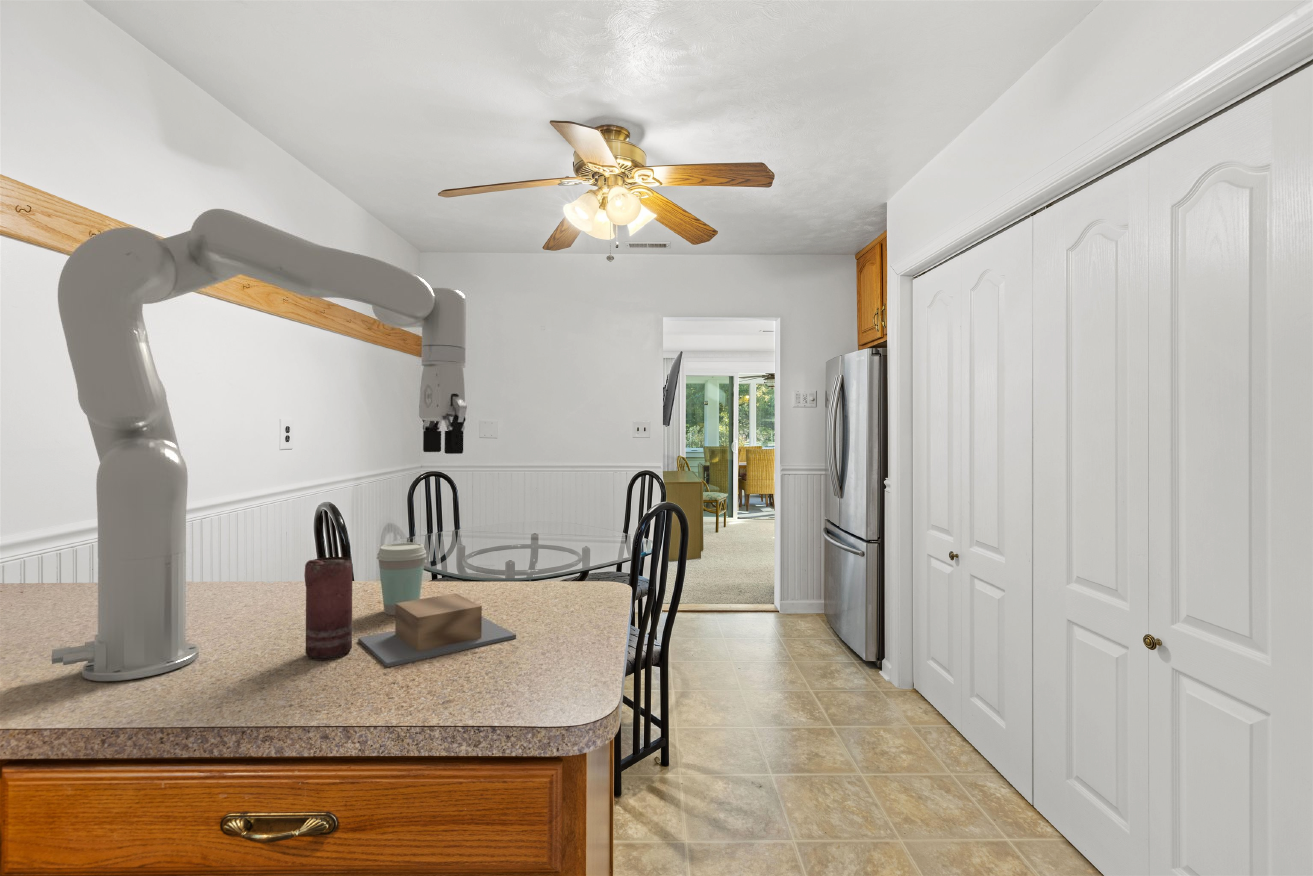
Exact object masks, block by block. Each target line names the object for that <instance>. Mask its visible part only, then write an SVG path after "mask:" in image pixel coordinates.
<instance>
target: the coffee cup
mask: <svg viewBox="0 0 1313 876" xmlns="http://www.w3.org/2000/svg"><path fill="white" fill-rule="evenodd" d="M376 555H377V557H376V559H377V560H378V566H379V567H378V568H379V577H380V585H381V595H382V602H383V609H384V614H386V615H387V616H395V603H400V602H406V601H412V600H419V599H421V593H422V592H421V591H422V583H423V577H424V567H425V558H426V557H427V550H426V549H425V547H424V543H423V544H422V543H420V542H395V543H389V544H384V545H381V546H380V547H379V549H378V552H377V554H376Z"/></svg>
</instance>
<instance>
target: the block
mask: <svg viewBox="0 0 1313 876" xmlns="http://www.w3.org/2000/svg"><path fill="white" fill-rule="evenodd" d="M482 606H483V605H481V604H479V603H476V602H474V601H472V600H470V599H469V598H466V597H464V596H462V595H460V594H458V593H450V594H444V595H438V596H432V597H425V598H420V599H419V600H412V601H406V602H400V603H395V615H394V616H395V617H394V618H395V619H394V621H395V624H394V625H395V626H394V631H395V635H397V636H398V637H399V638H401V639H402V640H403V641H405V642H406V643H407V644H409V645H410V646H411V647H413V648H414V649H415V650H417V651H422V650H426V649H431V648H436V647H440V646H445V645H449V644H454V643H459V642H463V641H468V640H473V639H477V638H481V636H482V617H483V616H482V614H483V613H482V612H483V611H482V609H483V608H482Z"/></svg>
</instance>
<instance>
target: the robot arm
mask: <svg viewBox="0 0 1313 876" xmlns="http://www.w3.org/2000/svg"><path fill="white" fill-rule="evenodd" d="M239 275H241V276H245V277H248V278H250V279H255V280H256V281H259V282H263V283H265V284H268V285H272V286H274V287H277V288H280V289H282V290H285V291H287V292H290V293H293V294H296V295H300V296H303V297H307V298H308V297H309V298H315V299H318V298H319V299H324V298H325V299H326V298H327V299H328V298H329V299H330V298H331V299H332V298H333V299H334V298H337V299H344V300H345V299H346V300H351V301H355V302H360V303H363V304H366V305H370V306H371V308H372V311H373V314H374V316H375V317H376V319H377V320H378V321H379V322H381V324H384V325H386V326H388V327H391V328H398V329H401V328H403V329H404V328H407V329H409V328H421V366H422V373H421V378H420V379H421V380H420V388H419V390H420V391H419V402H418V403H419V404H418V406H419V408H418V417H419V418H420V419H421V420H422V421H421V422H423V424H422V435H423V436H422V447H423V448H422V451H423V452H424V453H441V451H442V430H440V428H441V425H442V422H443V421H444V424H445V427H446V430H444V451H443V452H444V453H445V454H447V455H449V454H450V455H453V454H455V455H456V454H458V455H460V454H463V453H464V431H465V427H466V426H465V422H466V413H467V410H468V408H467V407H468V406H467V404H466V402H465V401H466V396H465V395H466V393H465V391H466V390H465V376H464V369H465V368H466V343H467V342H466V336H467V335H466V331H467V329H466V327H467V323H466V322H467V301H466V296H465V294H464V293H463V292H462V291H459V290H457V289H454V288H448V287H431V286H430V285H429V284H428V283H427V282H426V280H424V279H423V278H421V276H418V275H417V274H414V273H412V272H410V271H408V270H405V269H403V268H401V267H398V266H395V265H394V264H390V263H388V262H386V261H384V260H380V259H377V258H374V257H370V256H367V255H363V254H359V253H356V252H355V253H354V252H350V251H345V250H342V249H338V248H333V247H328V246H324V245H321V244H317V243H314V242H311V241H310V240H307V239H304V238H303V237H299V236H297V235H294V234H292V233H290V232H287V231H284V230H282V229H279V228H277V227H274V226H271V225H268V224H266V223H264V222H261V221H259V220H256V219H253V218H251V217H249V216H247V215H243V214H242V213H238V212H235V211H233V210H229V209H224V208H212V209H208V210H206V211H204V212H202V213H201V214H199V215H198V216H197V218H195V220H194V221H193V222H192V226H191V228H190V230H186V231H185V232H181V233H178V234H175V235H171V236H168V237H163V238H160V237H158V236H156V235H155V234H153V232H150V231H148V230H144V229H142V228H137V227H129V226H128V227H127V226H123V227H115V228H111V229H108V230H104V231H102V232H100V233H97V234H95V235H93V236H91V237H90V238H88V239H86V240H85V241H84V242H82V243H81V244H80V245H79V246H78V247H76V248H75V249H74V251H73V252H72V253H71V254H70V255H69V257H68V259H67V260H66V261H65V263H64V266H63V267H62V269H61V273H60V275H59V279H58V280H59V281H58V285H57V305H58V312H59V316H60V321H61V326H62V330H63V334H64V338H65V342H66V347H67V352H68V356H69V360H70V362H71V367H72V371H73V374H74V379H75V382H76V383H75V384H76V389H77V399H78V404H79V406H80V408H81V410H82V411H83V414H85V416H86V418H87V421H88V425H89V428H90V432H91V435H92V438H93V442H94V446H95V450H96V453H97V457H98V461H99V466H98V470H97V473H96V482H95V483H96V487H95V489H96V513H97V634H95V635H94V640H91V641H85V642H84V644H83V645H78V646H77V645H76V646H72V647H71V646H66V647H59V648H53V649H51V665H56V664H62V666H68V665H69V666H70V665H74V664H77V663H83V662H86V663H84V664H83V665H82V667H81V675H82V677H83V678H84V679H86V680H90V681H95V682H119V681H120V682H121V681H128V680H129V681H131V680H134V679H142V678H147V677H153V676H157V675H160V674H164V673H168V672H171V671H174V670H177V669H180V668H183V667H185V666H187V665H189V664H191V663H192V662H194V661H195V660H196V659H197V658H198V657H199V655H200V654H199V653H200V652H199V651H200V648H199V646H198V645H196V644H194V643H190V642H186V630H187V629H186V626H187V625H186V622H187V621H186V620H187V619H186V617H187V616H186V610H187V609H186V607H187V605H186V604H187V601H186V600H187V599H186V597H187V596H186V595H187V594H186V593H187V583H186V582H187V581H186V580H187V547H186V545H187V543H186V542H187V536H186V535H187V527H186V526H187V505H188V504H187V503H188V501H187V500H188V486H189V485H188V483H189V480H188V479H189V477H188V468H187V464H186V461H185V459H184V457H183V455H182V453H181V449H180V446H179V443H178V437H177V435H176V431H175V427H174V423H173V420H172V416H171V412H170V407H169V404H168V399H167V391H166V389H165V386H164V385H163V382H162V380H161V379H160V377H159V374H158V371H157V367H156V365H155V361H154V357H153V354H152V351H151V350H152V349H151V347H150V341H149V337H148V332H147V328H146V324H145V319H144V316H143V314H144V313H143V308H144V307H143V306H144V305H149V304H157V303H160V302H161V303H162V302H165V301H168V300H172V299H174V298H177V297H180V296H183V295H186V294H190V293H192V292H196V291H199V290H202V289H206V288H208V287H212V286H215V285H217V284H219V283H222V282H225V281H229V280H231V279H233V278H235V277H238V276H239Z"/></svg>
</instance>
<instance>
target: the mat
mask: <svg viewBox="0 0 1313 876" xmlns="http://www.w3.org/2000/svg"><path fill="white" fill-rule="evenodd" d="M357 638H358V640H357V641H358V643H359V644H361V646H362V647H364V649H366V650H367V651H368V652H370V654H371V655H373V656H374V657H375V658H376V659H377V660H378V661H379V662H381V664H383V665H384V666H385V667H386V668H391V667H394V666H398V665H399V666H400V665H402V664H407V663H412V662H416V661H417V662H418V661H421V660H424V659H425V660H426V659H430V658H434V657H439V656H442V655H447V654H453V653H456V652H460V651H465V650H469V649H470V650H471V649H473V648H478V647H482V646H483V647H484V646H487V645H491V644H496V643H499V642H501V643H502V642H505V641H509V640H514V639H516V638H517V634H516V633H514V632H512V631H510V630H509V629H506V628H505V627H503V626H501V625H500V624H497V623H495V622H493V621H491V620H489V619H487V618H486V617H484V616H482V636H481V638H477V639H473V640H468V641H463V642H459V643H454V644H449V645H445V646H440V647H436V648H431V649H426V650H422V651H417V650H415V649H414V648H413V647H411V646H410V645H409V644H407V643H406V642H405V641H403V640H402V639H401V638H399V637H398V636H397V635H395V630H391V631H386V632H380V633H376V634H371V635H365V636H359V637H357Z"/></svg>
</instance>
